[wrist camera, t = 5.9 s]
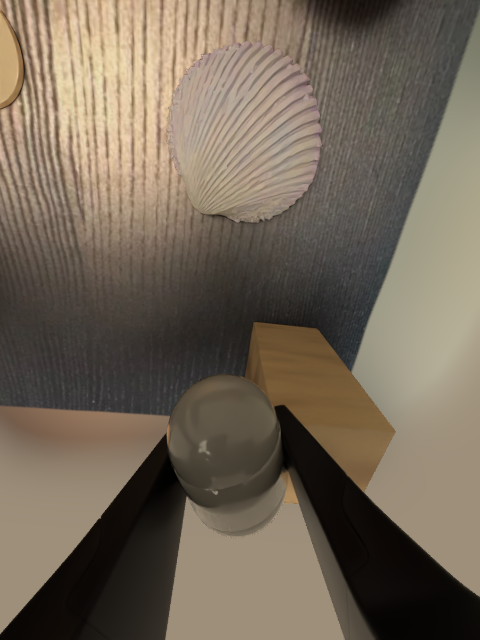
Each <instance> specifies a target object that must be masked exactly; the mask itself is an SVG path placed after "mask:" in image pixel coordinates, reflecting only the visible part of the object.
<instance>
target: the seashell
mask: <svg viewBox="0 0 480 640" xmlns="http://www.w3.org/2000/svg"><path fill="white" fill-rule="evenodd" d="M201 56H202V59H199V60H198V61H194V62H193V63H194V65H195V66H194V67H193V66H191V67H190V68H189V69H186V72H187V74H184V76H183V78H181V79H180V84H179V85H178V87H177V88H176V89H175V92H174V93H173V95H172V97H173V99H172V104H171V106H170V107H168V108H169V110H170V111H169V116H168V117H167V121H168V125H167V129H166V130H167V133H168V138H167V141H166V142H167V144H168V145H169V150H170V154H171V156H170V158H171V159H173V161H174V165H175V167H176V170H177V171H178V175H181V176H182V179H183V182H184V186H185V189H186V192H187V195H188V197H189V200H190V202H191V203H192V205H193V207H194V208H195V209H196V210H197V211H198V212H200V213H202V214H216V215H217V214H220V215H224V216H227V218H228V219H232V220H234V221H235V223H239V220H240V221H246V222H251V223H259V219H262V220H263V221H264V219H268V220H270V219H272V216H274V215H279V214H281V213H282V212H283V211H285V210H287V209H289V206H291V205H293V204H295V200H297V199H298V198H300V197H302V196H303V195H302V194H303V193H304V192H306V191H308V187H309V185H310V184H311V183H312V182H313V178H314V175H315V174H316V170H317V165H318V161H319V159H320V154H319V153H320V147H321V146H323V145H322V143H321V139H320V137H319V135H320V133H321V132H322V129H321V126H320V124H318V121H319V119H320V113H319V111H318V110H316V108H317V100H316V99H315V98H312V93H313V88H312V87H311V86H310V85H308V86H307V85H306V84H307V83H308V81H309V80H310V79H309V78H308V77H307V76H306V74H305V73H304V74H302V75H300V71H301V67H300V66H299V65H298V64H297V63H296V64H294V65H293V66H292V62H293V59H292V58H291V57H290V56H289V55H287V56H285V57H284V56H283V52H282V51H281V50H280V49H279V48H278V49H277V50H276V51H274V48H273V47H272V46H271V45H268V44H267V45H266V46H265V47H263V44H262V43H261V42H259V41H257V42H255V44H254V45H252V44H251V42H247V41H245V42H244V43H243V44H242V45H241V44H240V43H234V44H233V45H232V47H230V46H229V45H224V46H223V47H222V48H221V49H214V50H213V52H212V53H209V54H202V55H201Z"/></svg>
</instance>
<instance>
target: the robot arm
mask: <svg viewBox="0 0 480 640" xmlns="http://www.w3.org/2000/svg"><path fill="white" fill-rule="evenodd" d="M274 408H275V410H276V413H277V416H278V419H279V424H280V430H281V438H282V443H283V448H284V453H285V459H286V464H287V469H288V472H289V476H290V479H291V482H292V485H293V487H294V490H295V493H296V496H297V499H298V502H299V505H300V508H301V511H302V514H303V517H304V520H305V523H306V526H307V529H308V531H309V535H310V537H311V541H312V544H313V547H314V549H315V552H316V555H317V558H318V561H319V564H320V567H321V570H322V573H323V576H324V579H325V582H326V585H327V588H328V591H329V594H330V597H331V600H332V603H333V606H334V608H335V612H336V614H337V617H338V620H339V623H340V626H341V629H342V632H343V635H344V638H345V640H480V597H479V596H478V595H476V594H475V593H473V592H472V591H471V590H469V589H468V588H467V587H465V586H464V585H463V584H462V583H460V582H459V581H458V580H457V579H456V578H454V577H453V576H452V575H451V574H450V573H449V572H447V571H446V570H445V569H444V568H443V567H442V566H441V565H440V564H439V563H437V562H436V561H435V560H434V559H433V558H432V557H431V556H430V555H429V554H428V553H427V552H426V551H425V550H423V549H422V548H421V547H420V546H419V545H418V544H417V543H416V542H415V541H414V540H412V538H410V537H409V536H408V535H407V534H406V533H405V532H404V531H403V530H402V529H401V528H399V526H397V525H396V524H395V523H394V522H393V521H392V520H391V519H390V518H389V517H388V516H387V515H386V514H385V513H383V511H382V510H381V509H379V507H378V506H376V505H375V504H374V503H373V502H372V501H371V499H370V498H369V497H368V496H367V495H366V494H365V493H364V492H363V491H362V490H361V489H360V488H359V487H358V486H357V485H356V483H355V482H354V481H353V480H352V479H351V478H350V477H349V476H347V474H346V472H345V471H344V470H343V469H342V468H341V467H340V466H339V465H338V464H337V462H336V461H335V460H334V459H333V458H332V457H331V456H330V455H329V454H328V452H327V451H326V450H325V449H324V448H323V447H322V446H321V445H320V443H319V442H318V441H317V440H316V439H315V438H314V437H313V436H312V435H311V433H310V432H309V431H308V430H307V429H306V428H305V427H304V426H303V425H302V423H301V422H300V421H299V420H298V419H297V418H296V417H295V416H294V415H293V413H292V412H291V411H290V410H289V409H288V408H287V407H286V406H285V405H278V406H275V407H274ZM186 497H187V495H186V493H185V491H184V489H183V487H182V485H181V483H180V481H179V479H178V477H177V475H176V473H175V471H174V469H173V467H172V464H171V460H170V457H169V454H168V450H167V433H166V434H165V435H164V437H163V438H162V439H161V440H160V442H159V443H158V444H157V445H156V447H155V448H154V449H153V451H152V452H151V453H150V454H149V456H148V457H147V458H146V459H145V461H144V462H143V463H142V465H141V466H140V467H139V468H138V470H137V471H136V472H135V473H134V475H133V476H132V477H131V479H130V480H129V481H128V482H127V484H126V485H125V486H124V488H123V489H122V490H121V491H120V493H119V494H118V495H117V496H116V498H115V499H114V500H113V502H112V503H111V504H110V505H109V507H108V508H107V509H106V510H105V512H104V513H103V514H102V516H101V519H98V520H97V522H96V523H95V524H94V526H93V527H92V528H91V529H90V531H89V532H88V533H87V535H86V536H85V537H84V538H83V539H82V540H81V542H80V543H79V544H78V545H77V547H76V548H75V549H74V550H73V552H72V553H71V554H70V555H69V556H68V558H67V559H66V560H65V561H64V562H63V563H62V564H61V566H60V567H59V568H58V569H57V570H56V571H55V573H54V574H53V575H52V576H51V577H50V578H49V579H48V581H47V582H46V583H45V584H44V585H43V586H42V587H41V589H40V590H39V591H38V592H37V593H36V594H35V595H34V596H33V598H32V599H31V600H30V601H29V602H28V603H27V604H26V606H25V607H24V608H23V609H22V610H21V611H20V612H19V613H18V615H17V616H16V617H15V618H14V619H13V620H12V621H11V623H10V624H9V625H8V626H7V627H6V628H5V629H4V630H3V632H2V633H1V634H0V640H165V637H166V630H167V624H168V617H169V610H170V604H171V597H172V590H173V584H174V577H175V570H176V563H177V556H178V550H179V543H180V537H181V530H182V523H183V516H184V510H185V503H186Z"/></svg>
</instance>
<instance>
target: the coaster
mask: <svg viewBox="0 0 480 640" xmlns="http://www.w3.org/2000/svg"><path fill="white" fill-rule="evenodd" d="M23 75H24V66H23V58H22V54H21V49H20V46H19V43H18V40H17V38H16V35H15V33H14V31H13V29H12V27H11V25H10V24H9V22H8V20H7V19H6V17H5V16H4V14H3V13H2V12H1V10H0V108H3V107H5V106H7V105H9V104H10V103H12V102H13V101H14V100H15V99H16V97H17V96H18V94H19V92H20V90H21V87H22V83H23Z"/></svg>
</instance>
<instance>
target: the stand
mask: <svg viewBox="0 0 480 640" xmlns="http://www.w3.org/2000/svg"><path fill="white" fill-rule="evenodd" d="M245 378H246V379H249V380H250V381H252V382H254V383H255V384H256V385H257V386H259V387H260V388H261V389H262V390H263V391H264V392H265V393H266V394H267V396H268V397H269V399H270V400H271V402H272V403H273V405H274V407H275V406H278V405H285V406H286V407H287V408H288V409H289V410H290V411H291V412H292V413H293V415H294V416H295V417H296V418H297V419H298V420H299V421H300V422H301V423H302V425H303V426H304V427H305V428H306V429H307V430H308V431H309V432H310V433H311V435H312V436H313V437H314V438H315V439H316V440H317V441H318V442H319V443H320V445H321V446H322V447H323V448H324V449H325V450H326V451H327V452H328V454H329V455H330V456H331V457H332V458H333V459H334V460H335V461H336V462H337V464H338V465H339V466H340V467H341V468H342V469H343V470H344V471H345V472H346V474H347V476H349V477H350V478H351V479H352V480H353V481H354V482H355V483H356V485H357V486H358V487H359V488H360V489H361V490H362V491H363V492H364V491H365V489H366V487H367V485H368V483H369V481H370V480H371V478H372V476H373V474H374V472H375V470H376V468H377V466H378V464H379V462H380V461H381V459H382V457H383V455H384V453H385V451H386V449H387V447H388V445H389V443H390V441H391V440H392V437H393V436H394V434H395V430H394V428H393V427H392V426H391V425H390V423H389V422H388V421H387V419H386V418H385V417H384V415H383V414H382V413H381V412H380V410H379V409H378V407H377V406H376V405H375V404H374V402H373V401H372V400H371V398H370V397H369V396H368V394H367V393H366V392H365V390H364V389H363V388H362V387H361V385H360V384H359V383H358V381H357V380H356V379H355V377H354V376H353V375H352V373H351V372H350V371H349V369H348V368H347V367H346V366H345V364H344V363H343V362H342V360H341V359H340V358H339V356H338V355H337V354H336V352H335V351H334V350H333V349H332V347H331V346H330V345H329V343H328V342H327V341H326V339H325V338H324V337H323V335H322V334H321V333H320V331H319V330H318V329H316V328H307V327H297V326H288V325H278V324H269V323H259V322H254V323H253V329H252V336H251V342H250V348H249V354H248V361H247V367H246V373H245ZM283 503H293V504H299V502H298V499H297V496H296V493H295V490H294V487H293V485H292V482H291V479H290V476H289V472H288V488H287V492H286V495H285V499H284V502H283Z"/></svg>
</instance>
